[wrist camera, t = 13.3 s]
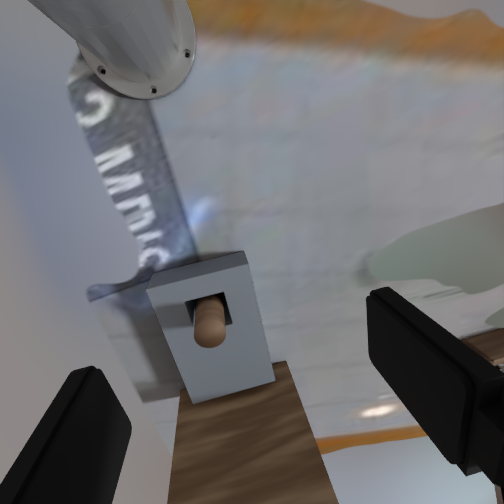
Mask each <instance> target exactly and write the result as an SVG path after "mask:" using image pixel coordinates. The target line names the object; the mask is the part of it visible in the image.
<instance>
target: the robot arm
mask: <svg viewBox="0 0 504 504" xmlns="http://www.w3.org/2000/svg"><path fill="white" fill-rule="evenodd" d="M28 1H29V2H30V3H32V4H33V5H34V6H35V7H37V8H38V9H39V10H40V11H41V12H43V13H44V14H45V15H46V16H47V17H48V18H50V19H51V20H52V21H53V22H54V23H56V24H57V25H58V26H59V27H60V28H62V29H63V30H64V31H65V32H66V33H68V34H69V35H70V36H71V37H73V38H74V39H75V40H76V42H77V45H78V47H79V49H80V51H81V54H82V56H83V57H84V59H85V61H86V62H87V64H88V65H89V67H90V68H91V69H92V70H93V71H94V73H95V74H96V75H97V76H98V77H99V78H100V79H101V80H102V81H103V82H105V83H106V84H107V85H108V86H110V87H111V88H113V89H114V90H116V91H117V92H119V93H122V94H124V95H126V96H128V97H132V98H135V99H141V100H153V99H159V98H162V97H165V96H167V95H169V94H171V93H172V92H174V91H175V90H177V89H178V88H179V87H180V86H181V85H182V84H183V82H184V81H185V80H186V78H187V76H188V75H189V73H190V71H191V68H192V65H193V62H194V57H195V52H196V35H195V27H194V22H193V18H192V14H191V11H190V9H189V6H188V4H187V1H186V0H28ZM186 54H189V55H190V57H189V58H186V57H185V55H186ZM103 70H106V73H105V74H103V73H102V71H103ZM153 89H156V93H153V92H152V91H153ZM366 306H367V328H368V351H369V357H370V360H371V362H372V363H373V365H374V366H375V368H376V369H377V370H378V371H379V373H380V374H381V375H382V377H383V378H384V379H385V381H386V382H387V383H388V384H389V386H390V387H391V388H392V390H393V391H394V392H395V394H396V395H397V396H398V397H399V399H400V400H401V401H402V403H403V404H404V405H405V407H406V408H407V409H408V410H409V412H410V413H411V414H412V416H413V417H414V418H415V419H416V421H417V422H418V423H419V425H420V426H421V427H422V429H423V430H424V431H425V432H426V434H427V435H428V436H429V438H430V439H431V440H432V442H433V443H434V444H435V445H436V447H437V448H438V449H439V450H440V452H441V453H442V455H443V456H444V457H445V458H446V459H447V460H448V461H449V462H450V463H451V464H457V466H458V467H459V468H460V469H461V471H462V472H463V473H464V474H465V476H468V475H472V474H475V473H478V472H481V471H483V472H484V474H485V475H486V476H487V477H488V478H489V479H490V481H491V482H492V483H493V484H494V486H495V491H496V498H497V504H504V373H503V372H502V371H500V370H499V369H498V368H496V367H495V366H494V365H492V364H491V363H490V362H488V361H487V360H486V359H484V358H483V357H482V356H480V355H479V354H478V353H476V352H475V351H474V350H472V349H471V348H470V347H468V346H467V345H466V344H464V343H463V342H462V341H460V340H459V339H458V338H456V337H455V336H454V335H452V334H451V333H450V332H448V331H447V330H446V329H444V328H443V327H442V326H440V325H439V324H438V323H436V322H435V321H434V320H432V319H431V318H430V317H428V316H427V315H426V314H424V313H423V312H422V311H420V310H419V309H418V308H416V307H415V306H414V305H412V304H411V303H410V302H408V301H407V300H406V299H404V298H403V297H402V296H400V295H399V294H398V293H397V292H395V291H394V290H393V289H391V288H390V287H383V288H380V289H376V290H372V291H371V292H370V296H367V298H366ZM131 430H132V426H131V422H130V420H129V418H128V416H127V415H126V413H125V411H124V409H123V407H122V406H121V404H120V402H119V400H118V399H117V397H116V395H115V393H114V391H113V390H112V388H111V386H110V384H109V383H108V381H107V379H106V377H105V375H104V374H103V372H102V371H101V370H100V369H96V368H95V367H94V366H88V367H85V368H81V369H77V370H74V371H72V372H71V373H70V374H69V376H68V377H67V379H66V381H65V382H64V384H63V385H62V387H61V389H60V390H59V392H58V393H57V395H56V397H55V398H54V400H53V401H52V403H51V405H50V406H49V408H48V409H47V411H46V412H45V414H44V416H43V417H42V419H41V420H40V422H39V424H38V425H37V427H36V429H35V430H34V432H33V433H32V435H31V436H30V438H29V440H28V441H27V443H26V444H25V446H24V448H23V449H22V451H21V452H20V454H19V456H18V457H17V459H16V460H15V462H14V464H13V465H12V467H11V468H10V470H9V471H8V473H7V475H6V476H5V478H4V480H3V481H2V483H1V484H0V504H112V501H113V498H114V494H115V490H116V487H117V483H118V480H119V476H120V472H121V469H122V465H123V461H124V458H125V454H126V451H127V447H128V443H129V439H130V436H131Z"/></svg>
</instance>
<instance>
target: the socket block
mask: <svg viewBox="0 0 504 504" xmlns="http://www.w3.org/2000/svg"><path fill="white" fill-rule="evenodd" d="M146 292H147V294H148V297H149V299H150V302H151V304H152V306H153V309H154V311H155V314H156V316H157V318H158V321H159V323H160V326H161V328H162V331H163V333H164V335H165V338H166V340H167V343H168V345H169V347H170V350H171V352H172V355H173V357H174V360H175V362H176V364H177V367H178V369H179V372H180V374H181V376H182V379H183V381H184V384H185V386H186V388H187V391H188V393H189V396H190V398H191V401H192V403H193V404H196V403H199V402H203V401H206V400H210V399H213V398H217V397H220V396H224V395H227V394H231V393H234V392H238V391H241V390H245V389H248V388H252V387H255V386H259V385H263V384H266V383H270V382H273V381H275V376H274V372H273V368H272V363H271V359H270V355H269V350H268V346H267V342H266V337H265V333H264V329H263V324H262V320H261V316H260V311H259V307H258V303H257V298H256V294H255V290H254V286H253V281H252V277H251V273H250V268H249V264H248V261H247V258H246V255H245V252H244V251H241V252H237V253H233V254H229V255H225V256H221V257H217V258H213V259H209V260H205V261H201V262H197V263H193V264H189V265H185V266H181V267H177V268H173V269H169V270H165V271H161V272H157V273H153V275H152V277H151V279H150V281H149V283H148V285H147V288H146ZM220 292H224V294H225V297H226V301H227V304H228V306H227V307H224V317H225V327H226V338H225V340H224V341H223V343H222V344H220V345H219V346H217V347H214V348H204V347H201V346H199V345H198V344H197V343H196V342H195V340H194V325H195V312H196V310H195V307H194V304H193V301H192V300H193V299H197V298H201V297H205V296H209V295H212V294H216V293H220Z"/></svg>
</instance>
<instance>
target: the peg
mask: <svg viewBox="0 0 504 504" xmlns="http://www.w3.org/2000/svg"><path fill="white" fill-rule="evenodd" d="M225 338H226V327H225V317H224V307H223V297H222V292H220V293H216V294H212V295H209V296H205V297H201V298H197V299H196V312H195V325H194V340H195V342H196V343H197V344H198V345H199V346H201V347H204V348H214V347H217V346H219V345H220V344H222V343H223V341H224V340H225Z"/></svg>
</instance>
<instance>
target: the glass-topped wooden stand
mask: <svg viewBox="0 0 504 504" xmlns="http://www.w3.org/2000/svg"><path fill="white" fill-rule="evenodd" d="M272 368H273V372H274V376H275V381H273V382H270V383H266V384H263V385H259V386H255V387H252V388H248V389H245V390H241V391H238V392H234V393H231V394H227V395H224V396H220V397H217V398H213V399H210V400H206V401H203V402H199V403H196V404H193V403H192V401H191V398H190V396H189V393H188V391H187V389H183V390H181V392H180V401H179V409H178V418H177V426H176V434H175V443H174V451H173V460H172V468H171V476H170V485H169V494H168V502H167V504H339V503H338V500H337V498H336V495H335V493H334V490H333V487H332V484H331V482H330V479H329V476H328V473H327V471H326V468H325V465H324V462H323V460H322V457H321V454H320V451H319V449H318V446H317V443H316V441H315V438H314V435H313V432H312V430H311V427H310V424H309V422H308V419H307V416H306V413H305V411H304V408H303V405H302V403H301V400H300V397H299V394H298V392H297V389H296V386H295V384H294V381H293V378H292V375H291V373H290V370H289V367H288V365H287V362H286V361H283V362H280V363H276V364H273V365H272Z"/></svg>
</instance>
